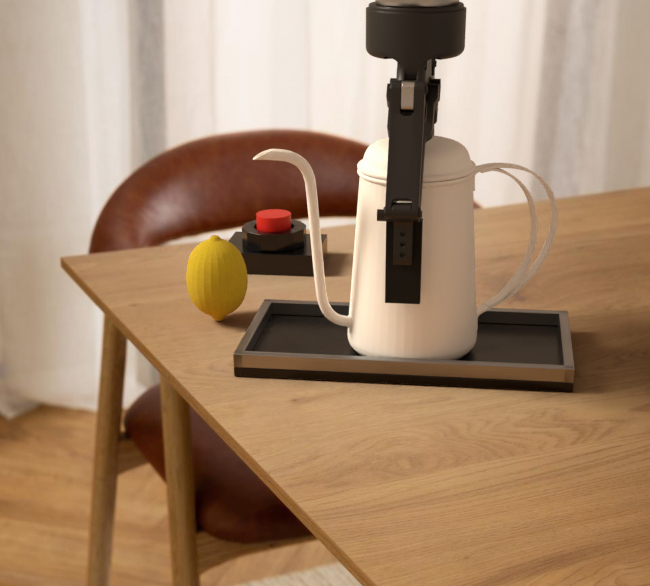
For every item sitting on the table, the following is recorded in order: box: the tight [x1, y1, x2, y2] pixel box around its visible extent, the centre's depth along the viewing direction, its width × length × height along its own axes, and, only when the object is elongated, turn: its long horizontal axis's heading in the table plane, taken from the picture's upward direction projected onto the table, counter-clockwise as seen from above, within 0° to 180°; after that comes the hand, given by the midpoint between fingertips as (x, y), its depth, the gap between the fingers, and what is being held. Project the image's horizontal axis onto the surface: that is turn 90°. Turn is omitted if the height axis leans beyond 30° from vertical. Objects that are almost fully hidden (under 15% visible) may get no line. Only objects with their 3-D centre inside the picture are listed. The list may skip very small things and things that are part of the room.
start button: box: [255, 208, 292, 232], centre depth 122 cm, size 4×4×2 cm
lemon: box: [185, 234, 249, 322], centre depth 107 cm, size 6×6×8 cm
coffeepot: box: [252, 135, 559, 360], centre depth 96 cm, size 11×25×19 cm, turn 102°
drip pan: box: [232, 298, 576, 393], centre depth 101 cm, size 27×14×2 cm, turn 82°
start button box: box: [228, 218, 328, 278], centre depth 123 cm, size 10×8×4 cm
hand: (409, 275), depth 98 cm, fingers open, 13 cm apart
